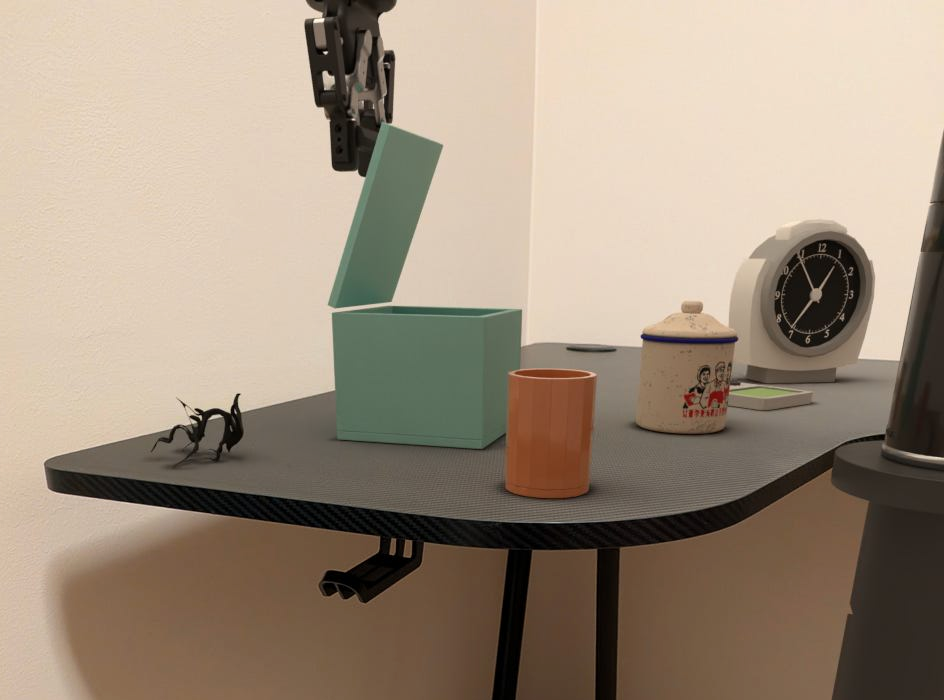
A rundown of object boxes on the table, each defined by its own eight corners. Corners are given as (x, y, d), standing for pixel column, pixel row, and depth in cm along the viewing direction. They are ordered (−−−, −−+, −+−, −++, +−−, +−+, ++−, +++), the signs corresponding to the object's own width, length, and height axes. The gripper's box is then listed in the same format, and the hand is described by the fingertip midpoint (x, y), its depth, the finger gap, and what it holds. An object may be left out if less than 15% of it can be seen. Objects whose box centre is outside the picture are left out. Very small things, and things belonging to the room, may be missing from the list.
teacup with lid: (691, 438, 84) (706, 304, 79) (614, 425, 90) (623, 300, 85) (761, 424, 91) (777, 301, 87) (685, 413, 98) (697, 298, 93)
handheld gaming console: (709, 376, 116) (816, 388, 105) (708, 388, 116) (813, 402, 106) (658, 381, 110) (766, 395, 99) (657, 395, 111) (764, 410, 100)
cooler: (518, 424, 90) (522, 309, 86) (482, 449, 78) (484, 317, 74) (390, 416, 94) (388, 305, 90) (336, 439, 82) (331, 312, 78)
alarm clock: (746, 385, 120) (768, 217, 112) (715, 377, 128) (734, 219, 120) (865, 382, 124) (894, 220, 116) (828, 375, 132) (853, 221, 124)
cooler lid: (443, 145, 83) (391, 121, 83) (390, 125, 71) (330, 98, 71) (391, 302, 89) (343, 279, 90) (335, 308, 77) (280, 282, 78)
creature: (151, 483, 70) (252, 458, 71) (126, 414, 68) (231, 389, 68) (164, 462, 77) (256, 439, 78) (142, 399, 75) (236, 376, 76)
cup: (594, 482, 67) (602, 370, 64) (581, 501, 62) (588, 380, 59) (516, 476, 69) (519, 367, 66) (495, 494, 63) (498, 376, 60)
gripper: (357, -100, 65) (367, 165, 72) (422, -41, 78) (425, 179, 85) (263, -89, 67) (282, 168, 74) (341, -34, 80) (351, 181, 87)
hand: (358, 173), depth 79 cm, fingers closed on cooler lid, 5 cm apart
